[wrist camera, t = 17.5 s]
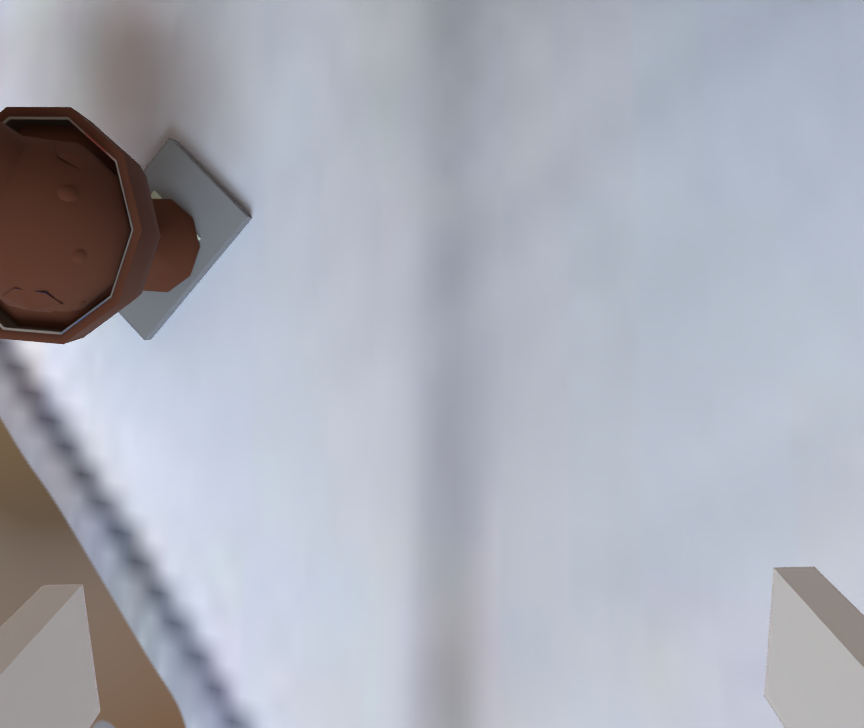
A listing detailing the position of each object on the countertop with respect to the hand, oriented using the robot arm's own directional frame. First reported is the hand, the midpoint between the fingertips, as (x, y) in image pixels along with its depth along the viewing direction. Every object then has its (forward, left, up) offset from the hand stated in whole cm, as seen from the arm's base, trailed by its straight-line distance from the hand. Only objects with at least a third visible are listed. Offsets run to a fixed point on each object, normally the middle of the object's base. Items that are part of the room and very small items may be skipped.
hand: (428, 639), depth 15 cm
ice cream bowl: (+8, -24, -26) cm, 36 cm away
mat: (+8, -24, -26) cm, 36 cm away
